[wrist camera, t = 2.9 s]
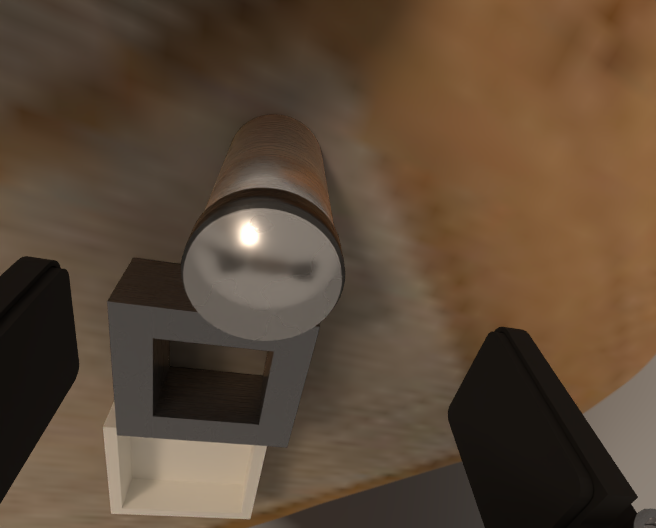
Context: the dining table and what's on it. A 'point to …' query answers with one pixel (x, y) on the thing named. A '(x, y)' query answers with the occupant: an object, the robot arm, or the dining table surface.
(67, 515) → the dining table surface
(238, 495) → the tray
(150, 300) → the block
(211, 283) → the shiny metal canister
